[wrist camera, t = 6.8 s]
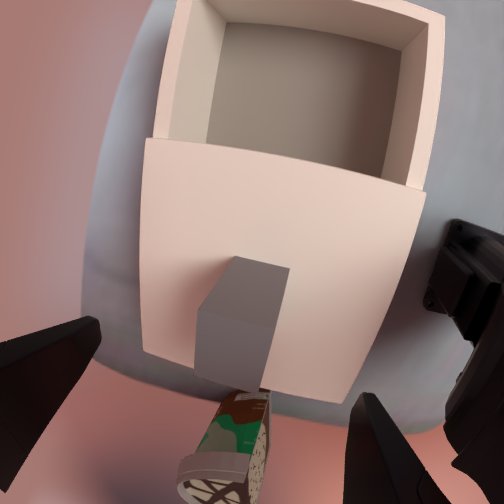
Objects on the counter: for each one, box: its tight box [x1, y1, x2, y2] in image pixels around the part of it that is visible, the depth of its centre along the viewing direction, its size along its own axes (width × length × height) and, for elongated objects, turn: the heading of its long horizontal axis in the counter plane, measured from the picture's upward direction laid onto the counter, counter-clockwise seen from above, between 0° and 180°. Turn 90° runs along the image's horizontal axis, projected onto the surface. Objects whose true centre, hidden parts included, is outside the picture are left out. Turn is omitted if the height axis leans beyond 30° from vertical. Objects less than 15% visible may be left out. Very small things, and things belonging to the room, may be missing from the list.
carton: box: [153, 0, 445, 191], centre depth 13 cm, size 12×12×6 cm
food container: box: [177, 388, 271, 504], centre depth 21 cm, size 12×6×10 cm, turn 3°
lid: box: [139, 138, 427, 404], centre depth 12 cm, size 12×12×5 cm
